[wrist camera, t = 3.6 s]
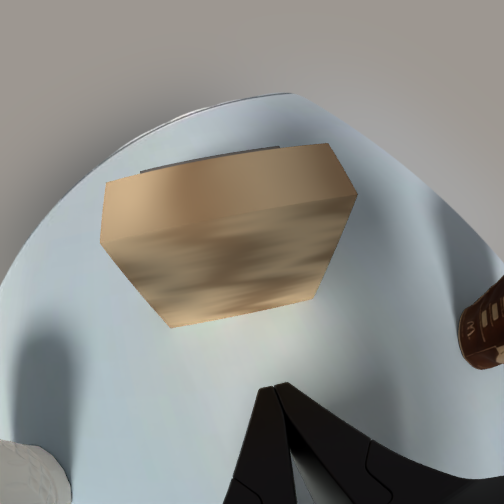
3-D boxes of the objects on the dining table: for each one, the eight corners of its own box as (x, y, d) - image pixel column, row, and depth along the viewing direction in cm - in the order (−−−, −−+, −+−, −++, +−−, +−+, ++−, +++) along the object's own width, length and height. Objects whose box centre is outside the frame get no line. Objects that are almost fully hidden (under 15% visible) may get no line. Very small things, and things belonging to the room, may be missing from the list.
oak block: (300, 259, 24) (328, 143, 14) (312, 298, 23) (357, 194, 12) (166, 286, 23) (106, 182, 13) (170, 328, 21) (100, 243, 11)
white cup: (11, 427, 16) (-73, 410, 7) (76, 453, 16) (-14, 457, 7) (15, 499, 12) (-62, 504, 3) (82, 532, 12) (7, 563, 3)
